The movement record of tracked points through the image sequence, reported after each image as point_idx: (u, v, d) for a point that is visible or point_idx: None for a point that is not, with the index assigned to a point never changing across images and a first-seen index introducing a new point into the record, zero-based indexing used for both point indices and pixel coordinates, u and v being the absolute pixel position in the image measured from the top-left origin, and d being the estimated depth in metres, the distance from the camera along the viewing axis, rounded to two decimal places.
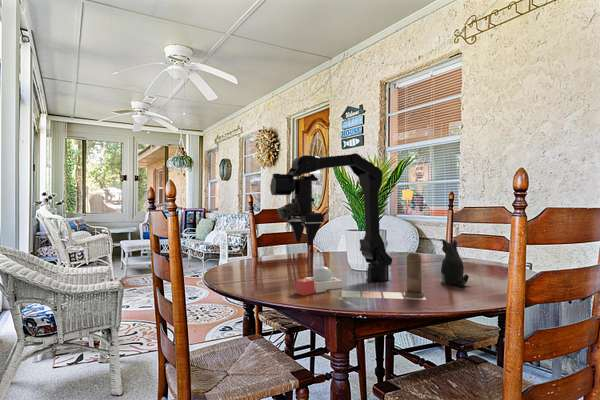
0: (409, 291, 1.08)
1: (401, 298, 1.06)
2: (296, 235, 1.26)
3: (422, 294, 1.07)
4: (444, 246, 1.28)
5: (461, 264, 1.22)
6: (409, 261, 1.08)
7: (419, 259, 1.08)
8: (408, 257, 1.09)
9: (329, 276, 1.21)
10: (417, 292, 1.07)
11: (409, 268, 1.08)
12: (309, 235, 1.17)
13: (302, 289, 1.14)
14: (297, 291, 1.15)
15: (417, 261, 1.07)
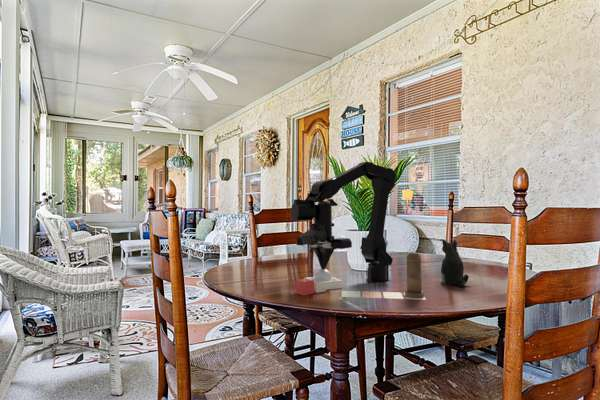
0: (409, 291, 1.08)
1: (401, 298, 1.06)
2: (321, 261, 1.22)
3: (422, 294, 1.07)
4: (444, 246, 1.28)
5: (461, 264, 1.22)
6: (409, 261, 1.08)
7: (419, 259, 1.08)
8: (408, 257, 1.09)
9: (329, 278, 1.21)
10: (417, 292, 1.07)
11: (409, 268, 1.08)
12: (325, 259, 1.21)
13: (302, 289, 1.14)
14: (297, 291, 1.15)
15: (417, 261, 1.07)
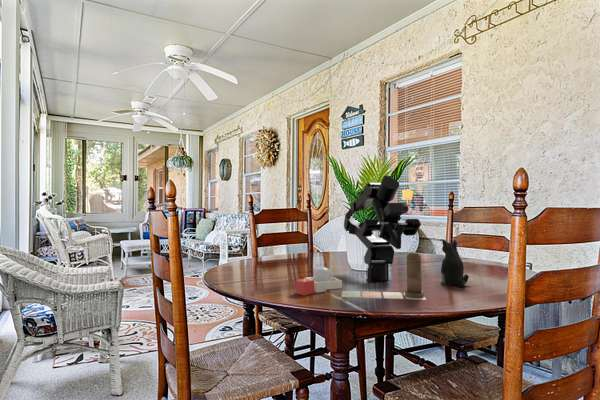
0: (409, 291, 1.08)
1: (401, 298, 1.06)
2: None
3: (422, 294, 1.07)
4: (444, 246, 1.28)
5: (461, 264, 1.22)
6: (409, 261, 1.08)
7: (419, 259, 1.08)
8: (408, 257, 1.09)
9: (329, 277, 1.21)
10: (417, 292, 1.07)
11: (409, 268, 1.08)
12: None
13: (302, 289, 1.14)
14: (297, 291, 1.15)
15: (417, 261, 1.07)
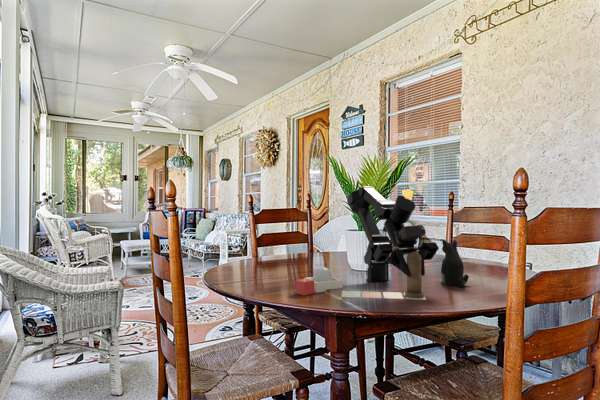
0: (409, 291, 1.08)
1: (401, 298, 1.06)
2: None
3: (422, 294, 1.07)
4: (444, 246, 1.28)
5: (461, 264, 1.22)
6: (409, 261, 1.08)
7: (419, 259, 1.08)
8: (408, 257, 1.09)
9: (329, 277, 1.21)
10: (417, 292, 1.07)
11: (409, 268, 1.08)
12: None
13: (302, 289, 1.14)
14: (297, 291, 1.15)
15: (417, 261, 1.07)
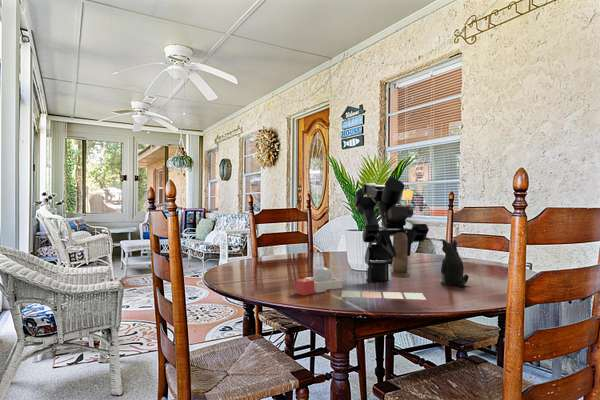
0: (394, 271, 1.08)
1: (401, 298, 1.06)
2: None
3: (407, 274, 1.07)
4: (443, 246, 1.28)
5: (461, 264, 1.22)
6: (394, 241, 1.08)
7: (404, 239, 1.07)
8: (394, 237, 1.09)
9: (329, 277, 1.21)
10: (402, 272, 1.07)
11: (394, 248, 1.08)
12: (410, 245, 1.10)
13: (302, 289, 1.14)
14: (297, 291, 1.15)
15: (402, 241, 1.07)
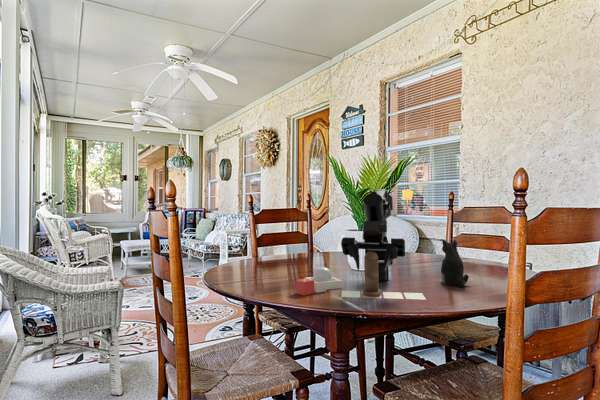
0: (364, 289, 1.11)
1: (401, 298, 1.06)
2: (358, 261, 1.12)
3: (375, 293, 1.08)
4: (444, 246, 1.28)
5: (461, 264, 1.22)
6: (364, 260, 1.11)
7: (372, 259, 1.09)
8: (364, 256, 1.11)
9: (329, 277, 1.21)
10: (370, 291, 1.09)
11: (364, 267, 1.11)
12: (388, 260, 1.10)
13: (302, 289, 1.14)
14: (297, 291, 1.15)
15: (370, 260, 1.09)
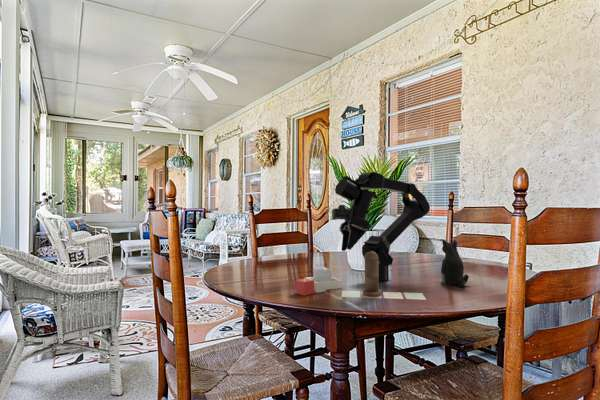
0: (364, 289, 1.11)
1: (401, 298, 1.06)
2: (343, 243, 1.31)
3: (375, 293, 1.09)
4: (444, 246, 1.28)
5: (461, 264, 1.22)
6: (365, 260, 1.11)
7: (373, 259, 1.09)
8: None
9: (329, 277, 1.21)
10: (370, 291, 1.09)
11: (365, 267, 1.11)
12: (351, 239, 1.21)
13: (302, 289, 1.14)
14: (297, 291, 1.15)
15: (370, 260, 1.09)
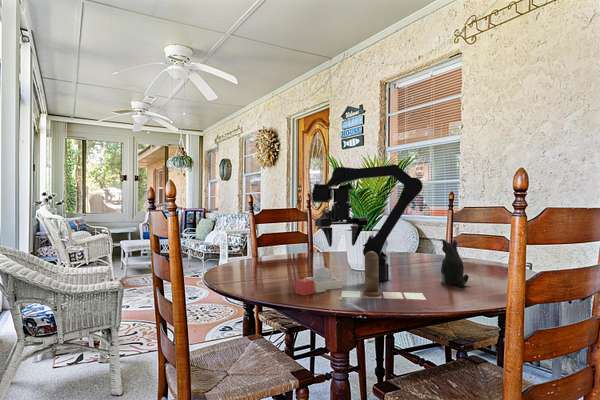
0: (364, 289, 1.11)
1: (401, 298, 1.06)
2: (352, 238, 1.39)
3: (375, 293, 1.09)
4: (444, 246, 1.28)
5: (461, 264, 1.22)
6: (365, 260, 1.11)
7: (373, 258, 1.09)
8: None
9: (329, 277, 1.21)
10: (370, 291, 1.09)
11: (365, 267, 1.11)
12: (326, 237, 1.35)
13: (302, 289, 1.14)
14: (297, 291, 1.15)
15: (370, 260, 1.09)
